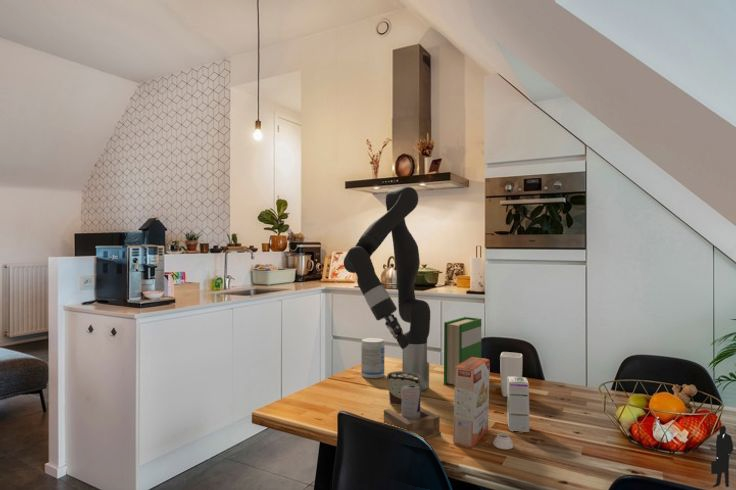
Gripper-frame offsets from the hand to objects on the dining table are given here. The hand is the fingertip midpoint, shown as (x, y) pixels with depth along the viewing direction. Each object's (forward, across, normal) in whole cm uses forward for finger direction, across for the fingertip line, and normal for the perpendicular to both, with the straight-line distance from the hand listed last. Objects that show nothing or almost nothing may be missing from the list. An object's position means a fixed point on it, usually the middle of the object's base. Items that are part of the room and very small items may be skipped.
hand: (405, 347), depth 140 cm
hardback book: (+22, +42, -16) cm, 50 cm away
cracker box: (+31, -9, -3) cm, 32 cm away
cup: (+33, +25, -26) cm, 49 cm away
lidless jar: (+36, -14, -8) cm, 39 cm away
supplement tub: (+3, +46, +14) cm, 49 cm away
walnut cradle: (+21, -6, +11) cm, 25 cm away
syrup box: (+36, -2, -16) cm, 40 cm away
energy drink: (+21, -6, +11) cm, 24 cm away
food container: (+16, +16, +8) cm, 24 cm away
